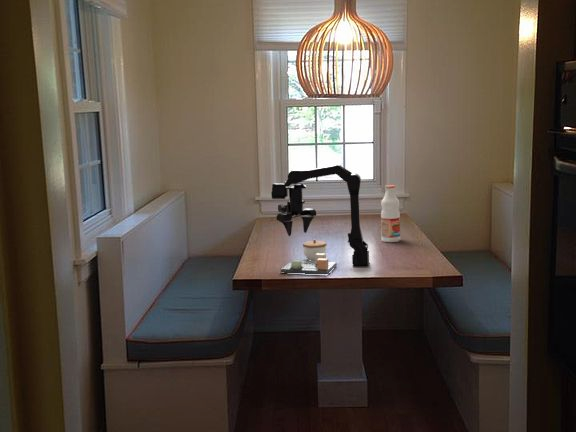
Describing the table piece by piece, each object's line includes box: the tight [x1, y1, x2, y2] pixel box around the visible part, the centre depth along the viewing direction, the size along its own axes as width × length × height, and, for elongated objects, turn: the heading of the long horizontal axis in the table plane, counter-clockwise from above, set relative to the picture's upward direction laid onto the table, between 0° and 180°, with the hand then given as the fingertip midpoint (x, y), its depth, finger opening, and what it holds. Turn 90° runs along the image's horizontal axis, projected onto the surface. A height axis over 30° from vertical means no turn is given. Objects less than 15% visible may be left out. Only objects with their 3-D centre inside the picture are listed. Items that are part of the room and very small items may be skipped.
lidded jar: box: [302, 238, 327, 261], centre depth 309 cm, size 11×11×9 cm
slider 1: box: [315, 253, 327, 264], centre depth 293 cm, size 4×3×4 cm
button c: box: [290, 259, 303, 269], centre depth 287 cm, size 4×4×3 cm
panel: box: [280, 260, 338, 275], centre depth 291 cm, size 20×16×2 cm
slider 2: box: [317, 257, 329, 270], centre depth 283 cm, size 4×3×4 cm
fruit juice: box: [380, 184, 401, 243], centre depth 343 cm, size 9×9×28 cm
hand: (297, 234), depth 298 cm, fingers open, 9 cm apart
